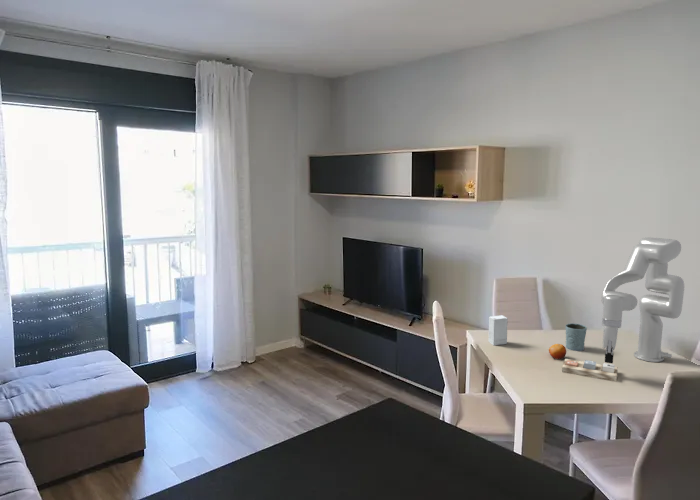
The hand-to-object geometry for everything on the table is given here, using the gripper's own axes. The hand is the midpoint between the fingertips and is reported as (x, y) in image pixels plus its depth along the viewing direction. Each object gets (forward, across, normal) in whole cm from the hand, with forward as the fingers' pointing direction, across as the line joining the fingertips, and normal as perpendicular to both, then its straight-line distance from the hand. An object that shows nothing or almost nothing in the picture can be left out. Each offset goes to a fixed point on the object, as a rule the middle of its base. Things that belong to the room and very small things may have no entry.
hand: (608, 362), depth 219 cm
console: (+6, 0, -7) cm, 10 cm away
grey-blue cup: (+6, -32, -17) cm, 36 cm away
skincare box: (+6, -20, -54) cm, 58 cm away
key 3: (+5, 0, -15) cm, 16 cm away
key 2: (+4, 0, -7) cm, 8 cm away
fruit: (+6, -13, -23) cm, 27 cm away
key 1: (+4, 0, 0) cm, 4 cm away
